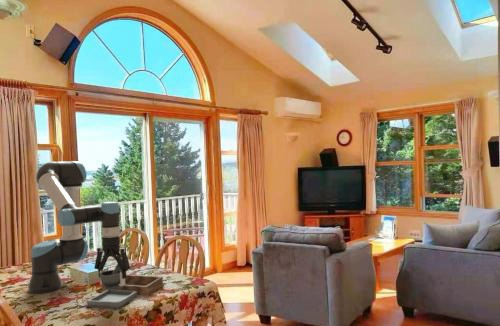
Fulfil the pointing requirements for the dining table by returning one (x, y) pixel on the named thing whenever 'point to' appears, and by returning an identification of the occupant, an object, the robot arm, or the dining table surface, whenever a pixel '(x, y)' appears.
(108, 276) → the mortar and pestle
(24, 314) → the dining table surface
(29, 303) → the dining table surface
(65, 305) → the dining table surface
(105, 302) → the tray
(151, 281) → the tray
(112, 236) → the robot arm
